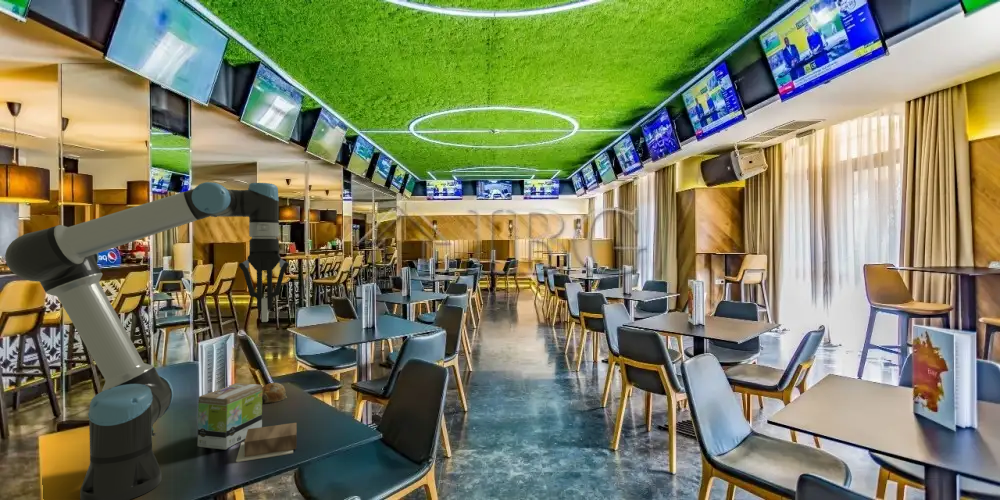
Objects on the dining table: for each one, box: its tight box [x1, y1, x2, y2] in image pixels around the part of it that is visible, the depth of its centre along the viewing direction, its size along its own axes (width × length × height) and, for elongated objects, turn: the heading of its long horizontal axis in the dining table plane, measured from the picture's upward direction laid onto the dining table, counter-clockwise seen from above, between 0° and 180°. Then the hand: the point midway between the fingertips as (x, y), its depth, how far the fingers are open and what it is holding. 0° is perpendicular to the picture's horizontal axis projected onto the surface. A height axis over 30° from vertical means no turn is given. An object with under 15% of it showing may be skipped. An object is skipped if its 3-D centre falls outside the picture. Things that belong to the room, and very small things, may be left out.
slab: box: [243, 422, 298, 457], centre depth 137 cm, size 4×10×13 cm
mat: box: [235, 441, 294, 463], centre depth 137 cm, size 14×13×1 cm
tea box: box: [197, 382, 263, 450], centre depth 144 cm, size 15×10×15 cm, turn 168°
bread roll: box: [262, 382, 288, 404], centre depth 181 cm, size 10×10×8 cm
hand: (264, 321), depth 136 cm, fingers closed
